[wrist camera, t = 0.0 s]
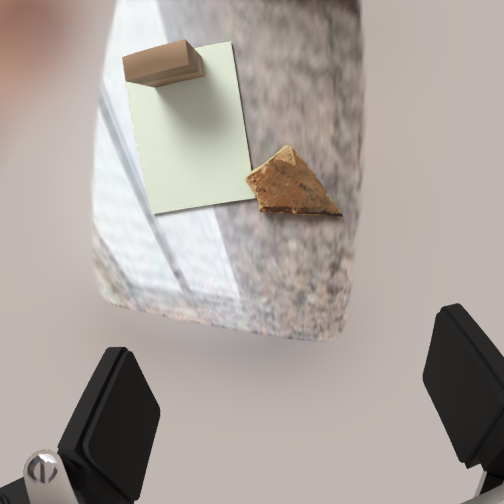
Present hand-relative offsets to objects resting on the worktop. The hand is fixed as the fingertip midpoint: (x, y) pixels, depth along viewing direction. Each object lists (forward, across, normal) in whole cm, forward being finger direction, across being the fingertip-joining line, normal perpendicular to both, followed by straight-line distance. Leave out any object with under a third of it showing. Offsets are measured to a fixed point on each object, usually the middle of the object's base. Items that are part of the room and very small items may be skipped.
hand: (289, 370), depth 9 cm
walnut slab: (+31, +8, -14) cm, 35 cm away
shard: (+31, -4, +1) cm, 31 cm away
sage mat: (+31, +8, -7) cm, 33 cm away
